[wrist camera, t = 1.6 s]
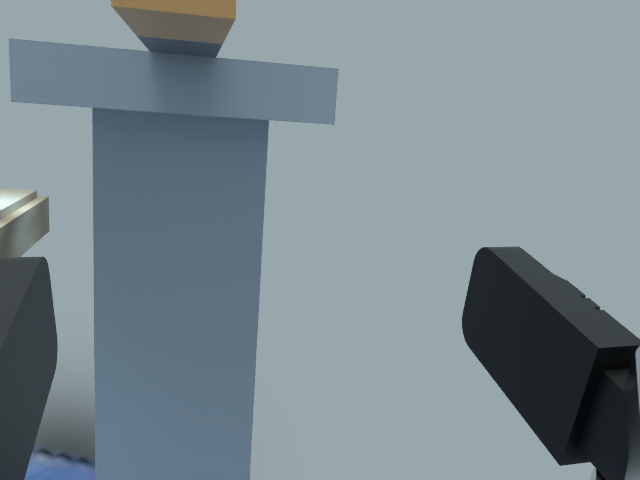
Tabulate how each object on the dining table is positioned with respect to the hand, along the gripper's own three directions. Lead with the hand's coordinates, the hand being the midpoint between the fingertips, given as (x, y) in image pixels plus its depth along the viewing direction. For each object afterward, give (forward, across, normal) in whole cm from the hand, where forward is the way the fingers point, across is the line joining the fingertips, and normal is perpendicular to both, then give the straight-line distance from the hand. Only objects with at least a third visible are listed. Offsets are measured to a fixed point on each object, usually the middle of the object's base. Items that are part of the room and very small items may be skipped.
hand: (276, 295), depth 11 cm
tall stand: (+12, +3, +30) cm, 33 cm away
